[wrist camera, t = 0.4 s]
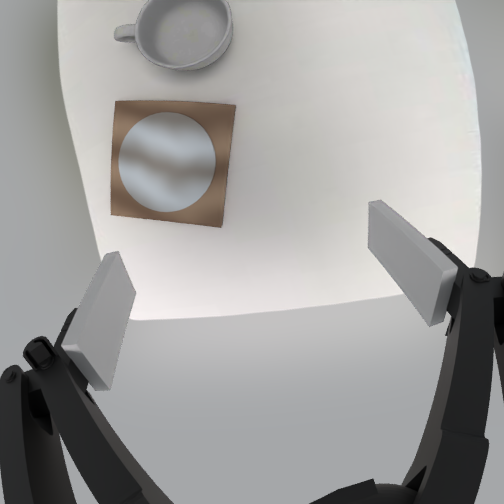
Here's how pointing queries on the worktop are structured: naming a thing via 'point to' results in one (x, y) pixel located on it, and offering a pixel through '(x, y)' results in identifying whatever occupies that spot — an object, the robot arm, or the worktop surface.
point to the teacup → (180, 32)
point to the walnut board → (171, 160)
